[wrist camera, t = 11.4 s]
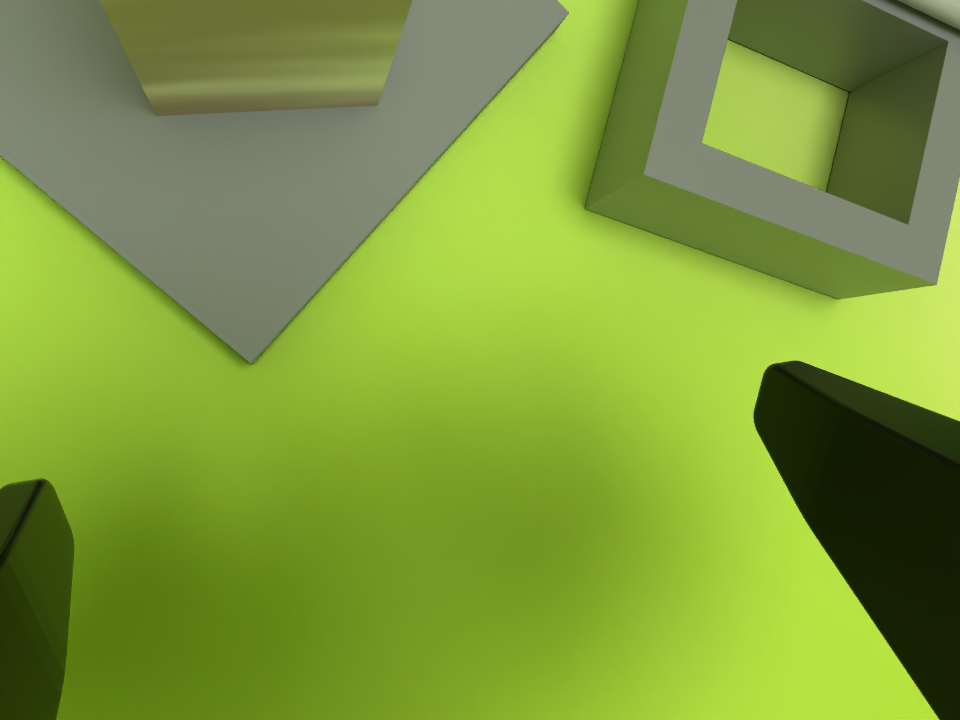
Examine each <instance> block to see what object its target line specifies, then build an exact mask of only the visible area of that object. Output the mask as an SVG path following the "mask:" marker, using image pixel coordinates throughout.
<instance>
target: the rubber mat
mask: <svg viewBox="0 0 960 720" xmlns="http://www.w3.org/2000/svg"><path fill="white" fill-rule="evenodd" d="M568 14H569V12H568V11H567V10H566V9H565V8H564V7H563V6H562V5H561V4H560V3H559V2H558V1H557V0H412V3H411V6H410V9H409V12H408V15H407V18H406V21H405V24H404V27H403V30H402V33H401V36H400V39H399V42H398V45H397V48H396V51H395V54H394V57H393V61H392V64H391V67H390V70H389V73H388V76H387V79H386V82H385V85H384V88H383V91H382V94H381V97H380V100H379V103H378V105H377V106H356V107H335V108H315V109H294V110H273V111H252V112H232V113H211V114H190V115H170V116H156V114H155V112H154V110H153V108H152V106H151V104H150V102H149V100H148V98H147V96H146V94H145V92H144V90H143V88H142V86H141V84H140V82H139V80H138V78H137V76H136V74H135V71H134V69H133V67H132V65H131V63H130V61H129V59H128V57H127V55H126V53H125V51H124V49H123V47H122V45H121V43H120V41H119V39H118V37H117V35H116V33H115V31H114V29H113V27H112V25H111V22H110V20H109V18H108V16H107V14H106V12H105V10H104V8H103V6H102V4H101V2H100V0H0V156H2V157H3V158H4V159H5V160H6V161H8V162H9V163H10V164H11V165H12V166H14V167H15V168H16V169H17V170H18V171H20V172H21V173H22V174H23V175H24V176H26V177H27V178H28V179H29V180H30V181H32V182H33V183H34V184H35V185H36V186H38V187H39V188H40V189H41V190H42V191H44V192H45V193H46V194H47V195H48V196H50V197H51V198H52V199H53V200H54V201H56V202H57V203H58V204H59V205H60V206H62V207H63V208H64V209H65V210H67V211H68V212H69V213H70V214H71V215H73V216H74V217H75V218H76V219H77V220H79V221H80V222H81V223H82V224H83V225H85V226H86V227H87V228H88V229H89V230H91V231H92V232H93V233H94V234H95V235H97V236H98V237H99V238H100V239H101V240H103V241H104V242H105V243H106V244H107V245H109V246H110V247H111V248H112V249H113V250H115V251H116V252H117V253H118V254H119V255H121V256H122V257H123V258H124V259H125V260H127V261H128V262H129V263H130V264H131V265H133V266H134V267H135V268H136V269H137V270H139V271H140V272H141V273H142V274H143V275H145V276H146V277H147V278H148V279H149V280H151V281H152V282H153V283H154V284H155V285H157V286H158V287H159V288H160V289H161V290H163V291H164V292H165V293H166V294H167V295H169V296H170V297H171V298H172V299H174V300H175V301H176V302H177V303H178V304H180V305H181V306H182V307H183V308H184V309H186V310H187V311H188V312H189V313H190V314H192V315H193V316H194V317H195V318H196V319H198V320H199V321H200V322H201V323H202V324H204V325H205V326H206V327H207V328H208V329H210V330H211V331H212V332H213V333H214V334H216V335H217V336H218V337H219V338H220V339H222V340H223V341H224V342H225V343H226V344H228V345H229V346H230V347H231V348H232V349H234V350H235V351H236V352H237V353H238V354H240V355H241V356H242V357H243V358H244V359H246V360H247V361H248V362H249V363H250V364H253V363H254V362H255V361H256V360H257V359H258V358H259V357H260V356H261V354H262V353H263V352H264V351H265V350H266V349H267V348H268V347H269V346H270V345H271V343H272V342H273V341H274V340H275V339H276V338H277V337H278V336H279V335H280V334H281V332H282V331H283V330H284V329H285V328H286V327H287V326H288V325H289V324H290V323H291V321H292V320H293V319H294V318H295V317H296V316H297V315H298V314H299V313H300V312H301V310H302V309H303V308H304V307H305V306H306V305H307V304H308V303H309V302H310V300H311V299H312V298H313V297H314V296H315V295H316V294H317V293H318V292H319V291H320V289H321V288H322V287H323V286H324V285H325V284H326V283H327V282H328V281H329V280H330V278H331V277H332V276H333V275H334V274H335V273H336V272H337V271H338V270H339V269H340V267H341V266H342V265H343V264H344V263H345V262H346V261H347V260H348V259H349V258H350V256H351V255H352V254H353V253H354V252H355V251H356V250H357V249H358V248H359V246H360V245H361V244H362V243H363V242H364V241H365V240H366V239H367V238H368V237H369V235H370V234H371V233H372V232H373V231H374V230H375V229H376V228H377V227H378V226H379V224H380V223H381V222H382V221H383V220H384V219H385V218H386V217H387V216H388V215H389V213H390V212H391V211H392V210H393V209H394V208H395V207H396V206H397V205H398V204H399V202H400V201H401V200H402V199H403V198H404V197H405V196H406V195H407V194H408V193H409V191H410V190H411V189H412V188H413V187H414V186H415V185H416V184H417V183H418V181H419V180H420V179H421V178H422V177H423V176H424V175H425V174H426V173H427V172H428V170H429V169H430V168H431V167H432V166H433V165H434V164H435V163H436V162H437V161H438V159H439V158H440V157H441V156H442V155H443V154H444V153H445V152H446V151H447V150H448V148H449V147H450V146H451V145H452V144H453V143H454V142H455V141H456V140H457V139H458V137H459V136H460V135H461V134H462V133H463V132H464V131H465V130H466V129H467V127H468V126H469V125H470V124H471V123H472V122H473V121H474V120H475V119H476V118H477V116H478V115H479V114H480V113H481V112H482V111H483V110H484V109H485V108H486V107H487V105H488V104H489V103H490V102H491V101H492V100H493V99H494V98H495V97H496V96H497V94H498V93H499V92H500V91H501V90H502V89H503V88H504V87H505V86H506V85H507V83H508V82H509V81H510V80H511V79H512V78H513V77H514V76H515V75H516V73H517V72H518V71H519V70H520V69H521V68H522V67H523V66H524V65H525V64H526V62H527V61H528V60H529V59H530V58H531V57H532V56H533V55H534V54H535V53H536V51H537V50H538V49H539V48H540V47H541V46H542V45H543V44H544V43H545V42H546V40H547V39H548V38H549V37H550V36H551V35H552V34H553V33H554V32H555V31H556V29H557V28H558V27H559V25H560V24H561V23H562V21H563V20H564V19H565V18H566V16H567V15H568Z"/></svg>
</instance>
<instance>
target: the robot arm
mask: <svg viewBox="0 0 960 720" xmlns="http://www.w3.org/2000/svg"><path fill="white" fill-rule="evenodd" d="M754 424H755V427H756V430H757V432H758V434H759V436H760V438H761V440H762V441H763V443H764V445H765V447H766V449H767V451H768V453H769V455H770V456H771V458H772V460H773V462H774V464H775V466H776V468H777V470H778V471H779V473H780V475H781V477H782V479H783V481H784V483H785V485H786V486H787V488H788V490H789V492H790V494H791V496H792V498H793V500H794V501H795V503H796V505H797V507H798V509H799V510H800V512H801V514H802V516H803V517H804V519H805V521H806V522H807V524H808V525H809V527H810V529H811V530H812V532H813V533H814V535H815V536H816V538H817V539H818V541H819V542H820V544H821V545H822V547H823V548H824V550H825V551H826V553H827V554H828V556H829V557H830V558H831V560H832V561H833V563H834V564H835V566H836V567H837V569H838V570H839V572H840V573H841V575H842V576H843V578H844V579H845V581H846V582H847V584H848V585H849V587H850V588H851V590H852V591H853V593H854V594H855V596H856V597H857V598H858V600H859V601H860V603H861V604H862V606H863V607H864V609H865V610H866V612H867V613H868V615H869V616H870V618H871V619H872V621H873V622H874V624H875V625H876V627H877V628H878V630H879V631H880V633H881V634H882V635H883V637H884V638H885V640H886V641H887V643H888V644H889V646H890V647H891V649H892V650H893V652H894V653H895V655H896V656H897V658H898V659H899V661H900V662H901V664H902V665H903V667H904V668H905V670H906V671H907V673H908V674H909V675H910V677H911V678H912V680H913V681H914V683H915V684H916V686H917V687H918V689H919V690H920V692H921V693H922V695H923V696H924V698H925V699H926V701H927V702H928V704H929V705H930V707H931V708H932V710H933V711H934V713H935V714H936V715H937V717H938V718H939V720H960V421H957V420H955V419H952V418H949V417H947V416H944V415H941V414H939V413H936V412H933V411H931V410H928V409H925V408H923V407H920V406H918V405H915V404H912V403H910V402H907V401H904V400H902V399H899V398H896V397H894V396H891V395H888V394H886V393H883V392H880V391H878V390H875V389H873V388H870V387H867V386H865V385H862V384H859V383H857V382H854V381H851V380H849V379H846V378H843V377H841V376H838V375H835V374H833V373H830V372H827V371H825V370H822V369H820V368H817V367H814V366H812V365H809V364H806V363H804V362H801V361H788V362H782V363H775V364H772V365H770V366H768V367H767V369H766V370H765V372H764V374H763V378H762V382H761V386H760V389H759V393H758V397H757V401H756V405H755V409H754ZM73 560H74V540H73V534H72V530H71V528H70V525H69V523H68V520H67V518H66V516H65V513H64V511H63V508H62V506H61V503H60V501H59V499H58V496H57V494H56V491H55V489H54V487H53V485H52V484H51V483H50V482H49V481H48V480H45V479H35V480H28V481H22V482H15V483H10V484H7V485H5V486H4V487H2V488H1V489H0V720H56V718H57V713H58V708H59V703H60V698H61V693H62V687H63V681H64V675H65V665H66V655H67V642H68V628H69V615H70V601H71V587H72V573H73Z"/></svg>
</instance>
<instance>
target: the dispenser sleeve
mask: <svg viewBox="0 0 960 720" xmlns="http://www.w3.org/2000/svg"><path fill="white" fill-rule="evenodd" d="M727 39H730V40H732V41H734V42H737V43H739V44H741V45H743V46H746V47H748V48H750V49H753V50H755V51H757V52H759V53H762V54H764V55H766V56H769V57H771V58H773V59H775V60H778V61H780V62H782V63H785V64H787V65H789V66H791V67H794V68H796V69H798V70H801V71H803V72H805V73H808V74H810V75H812V76H814V77H817V78H819V79H821V80H824V81H826V82H828V83H830V84H833V85H835V86H837V87H840V88H842V89H844V90H846V91H849V92H850V94H849V98H848V103H847V107H846V111H845V116H844V120H843V124H842V129H841V133H840V137H839V142H838V146H837V150H836V155H835V159H834V163H833V168H832V172H831V176H830V181H829V185H828V189H827V193H826V192H824V191H821V190H819V189H816V188H814V187H811V186H809V185H806V184H804V183H801V182H799V181H796V180H794V179H791V178H789V177H786V176H784V175H781V174H778V173H776V172H773V171H771V170H768V169H766V168H763V167H761V166H758V165H756V164H753V163H751V162H748V161H746V160H743V159H741V158H738V157H736V156H733V155H730V154H728V153H725V152H723V151H720V150H718V149H715V148H713V147H710V146H708V145H705V144H703V143H702V140H703V136H704V132H705V128H706V124H707V120H708V116H709V111H710V107H711V103H712V99H713V95H714V91H715V87H716V83H717V79H718V75H719V71H720V67H721V63H722V59H723V55H724V51H725V47H726V43H727ZM959 178H960V0H639V3H638V7H637V11H636V15H635V18H634V22H633V26H632V30H631V34H630V37H629V41H628V45H627V49H626V53H625V56H624V60H623V64H622V68H621V72H620V76H619V79H618V83H617V87H616V91H615V95H614V98H613V102H612V106H611V110H610V114H609V117H608V121H607V125H606V129H605V133H604V137H603V140H602V144H601V148H600V152H599V156H598V159H597V163H596V167H595V171H594V175H593V178H592V182H591V186H590V190H589V194H588V197H587V201H586V205H585V209H587V210H590V211H593V212H596V213H598V214H601V215H604V216H607V217H609V218H612V219H615V220H618V221H621V222H623V223H626V224H629V225H632V226H635V227H637V228H640V229H643V230H646V231H649V232H651V233H654V234H657V235H660V236H663V237H665V238H668V239H671V240H674V241H677V242H679V243H682V244H685V245H688V246H691V247H693V248H696V249H699V250H702V251H705V252H707V253H710V254H713V255H716V256H719V257H721V258H724V259H727V260H730V261H733V262H735V263H738V264H741V265H744V266H746V267H749V268H752V269H755V270H758V271H760V272H763V273H766V274H769V275H772V276H774V277H777V278H780V279H783V280H786V281H788V282H791V283H794V284H797V285H800V286H802V287H805V288H808V289H811V290H814V291H816V292H819V293H822V294H825V295H828V296H830V297H833V298H836V299H844V298H851V297H858V296H865V295H871V294H878V293H885V292H891V291H898V290H905V289H912V288H918V287H925V286H932V285H937V281H938V276H939V271H940V267H941V262H942V257H943V253H944V248H945V243H946V238H947V234H948V229H949V224H950V220H951V215H952V210H953V206H954V201H955V196H956V192H957V187H958V182H959Z"/></svg>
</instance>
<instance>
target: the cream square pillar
mask: <svg viewBox="0 0 960 720" xmlns="http://www.w3.org/2000/svg"><path fill="white" fill-rule="evenodd" d="M100 2H101V4H102V6H103V8H104V10H105V12H106V14H107V16H108V18H109V20H110V22H111V25H112V27H113V29H114V31H115V33H116V35H117V37H118V39H119V41H120V43H121V45H122V47H123V49H124V51H125V53H126V55H127V57H128V59H129V61H130V63H131V65H132V67H133V69H134V71H135V74H136V76H137V78H138V80H139V82H140V84H141V86H142V88H143V90H144V92H145V94H146V96H147V98H148V100H149V102H150V104H151V106H152V108H153V110H154V112H155V114H156V116H170V115H190V114H211V113H232V112H252V111H273V110H294V109H315V108H335V107H356V106H377V105H378V103H379V100H380V97H381V94H382V91H383V88H384V85H385V82H386V79H387V76H388V73H389V70H390V67H391V64H392V61H393V57H394V54H395V51H396V48H397V45H398V42H399V39H400V36H401V33H402V30H403V27H404V24H405V21H406V18H407V15H408V12H409V9H410V6H411V3H412V0H100Z"/></svg>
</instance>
